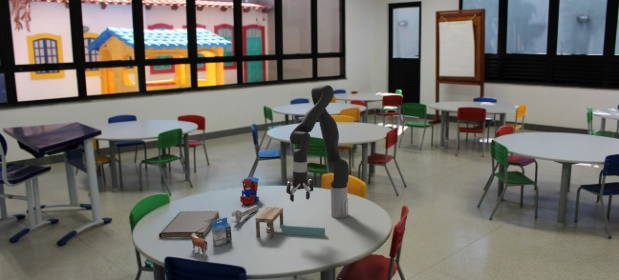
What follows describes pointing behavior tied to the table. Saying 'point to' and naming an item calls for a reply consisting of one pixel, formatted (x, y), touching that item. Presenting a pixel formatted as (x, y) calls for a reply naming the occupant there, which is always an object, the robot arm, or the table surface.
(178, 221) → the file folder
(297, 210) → the table surface
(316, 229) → the long teal stick
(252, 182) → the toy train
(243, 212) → the wrench
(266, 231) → the puck
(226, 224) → the label tape box
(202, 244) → the bull figurine
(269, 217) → the bench
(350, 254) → the table surface
